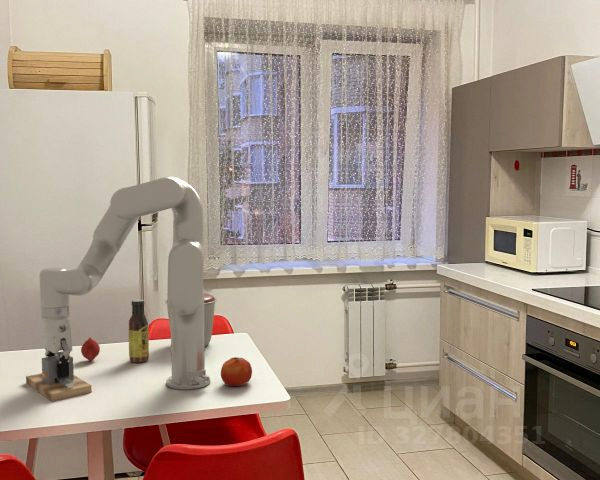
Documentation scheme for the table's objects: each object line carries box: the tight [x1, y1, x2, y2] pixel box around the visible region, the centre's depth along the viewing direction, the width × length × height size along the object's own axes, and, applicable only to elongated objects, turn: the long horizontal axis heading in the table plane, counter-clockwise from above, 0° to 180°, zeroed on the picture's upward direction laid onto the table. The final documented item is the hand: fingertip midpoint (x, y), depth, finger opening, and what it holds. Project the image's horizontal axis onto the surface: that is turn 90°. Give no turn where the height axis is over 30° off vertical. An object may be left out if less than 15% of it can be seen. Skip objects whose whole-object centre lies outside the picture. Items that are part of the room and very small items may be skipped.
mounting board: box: [25, 372, 92, 402], centre depth 185 cm, size 20×11×2 cm, turn 41°
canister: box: [164, 292, 218, 347], centre depth 229 cm, size 18×18×21 cm
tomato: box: [220, 357, 253, 387], centre depth 188 cm, size 9×9×8 cm
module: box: [41, 354, 75, 385], centre depth 184 cm, size 5×8×7 cm, turn 131°
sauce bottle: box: [128, 299, 150, 363], centre depth 210 cm, size 6×6×20 cm
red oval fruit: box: [80, 336, 101, 362], centre depth 211 cm, size 6×6×8 cm
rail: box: [54, 377, 75, 389], centre depth 185 cm, size 18×2×2 cm, turn 41°
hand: (57, 372), depth 185 cm, fingers open, 7 cm apart
